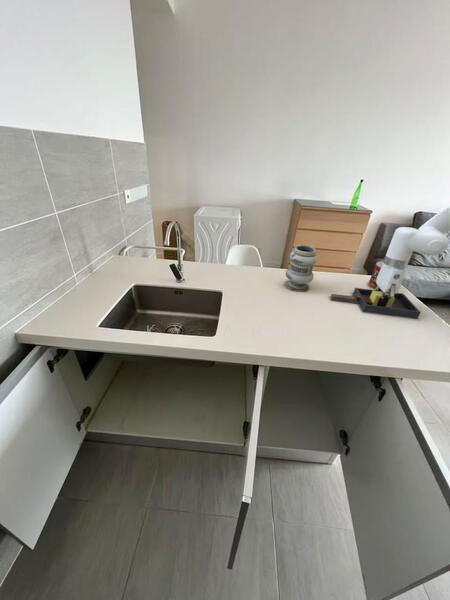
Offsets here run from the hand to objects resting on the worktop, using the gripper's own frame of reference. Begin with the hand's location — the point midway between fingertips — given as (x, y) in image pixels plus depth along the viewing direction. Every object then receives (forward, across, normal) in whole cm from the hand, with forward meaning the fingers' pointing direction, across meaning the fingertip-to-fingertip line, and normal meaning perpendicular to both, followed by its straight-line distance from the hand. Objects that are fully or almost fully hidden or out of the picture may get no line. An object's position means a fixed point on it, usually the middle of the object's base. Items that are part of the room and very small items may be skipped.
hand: (378, 303), depth 99 cm
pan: (+1, 0, -2) cm, 2 cm away
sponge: (0, 0, 0) cm, 0 cm away
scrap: (0, 0, +5) cm, 5 cm away
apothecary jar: (0, +8, +32) cm, 33 cm away
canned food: (+1, +18, -6) cm, 19 cm away
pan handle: (0, 0, +14) cm, 14 cm away
